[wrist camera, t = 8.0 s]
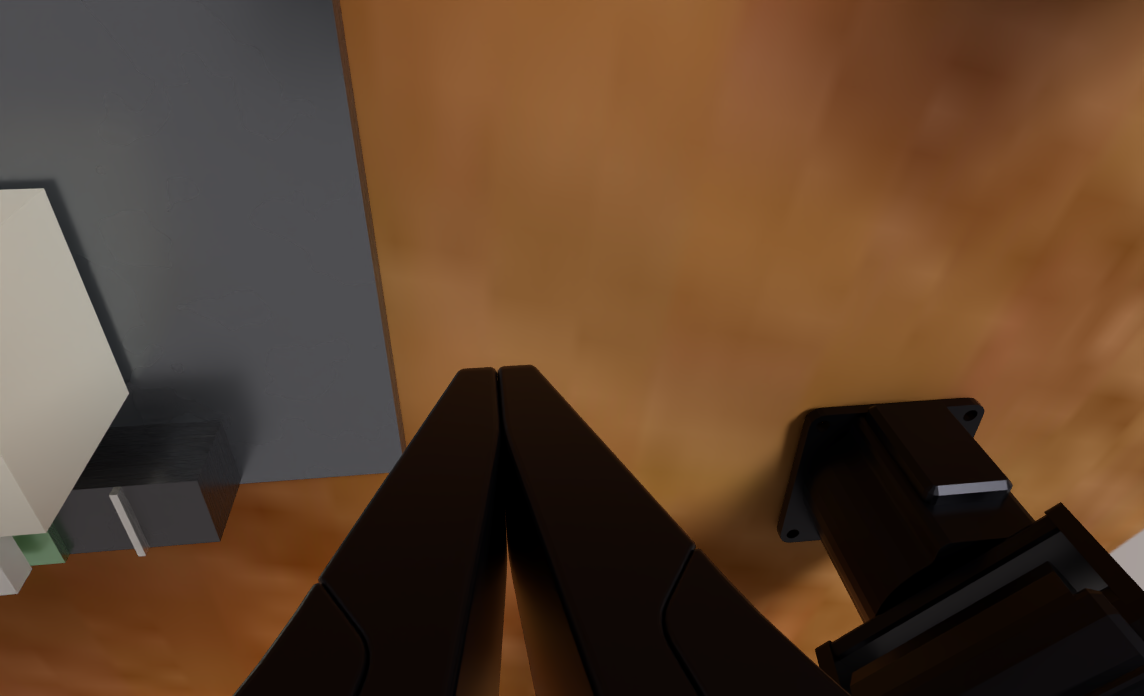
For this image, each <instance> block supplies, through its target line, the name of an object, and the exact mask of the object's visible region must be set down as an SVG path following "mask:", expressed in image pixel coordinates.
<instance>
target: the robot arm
mask: <svg viewBox="0 0 1144 696" xmlns="http://www.w3.org/2000/svg"><path fill="white" fill-rule="evenodd" d="M497 378H498V380H497ZM983 415H984V409H983V407H982V406H981V405H980V403H979V402H978V401H977V400H975V399H974V398H956V399H942V400H928V401H913V402H899V403H885V404H871V405H856V406H842V407H828V408H819V409H815V410H813V411H812V412H810V413H809V414H808V415H807V416H806V418H805V421H804V425H803V429H802V432H801V436H800V440H799V444H798V448H797V452H796V456H795V459H794V463H793V467H792V471H791V475H790V479H789V483H788V486H787V490H786V494H785V498H784V502H783V506H782V510H781V513H780V517H779V521H778V525H777V531H778V534H779V536H780V538H781V539H782V541H784V542H790V543H791V542H802V541H813V540H821V541H822V543H823V545H824V547H825V549H826V551H827V553H828V555H829V557H830V559H831V561H832V563H833V565H834V566H835V568H836V570H837V572H838V574H839V576H840V578H841V580H842V582H843V584H844V586H845V588H846V590H847V592H848V594H849V595H850V597H851V599H852V601H853V603H854V605H855V607H856V609H857V611H858V613H859V615H860V617H861V619H862V621H863V623H864V624H862V625H860V626H859V627H857V628H855V629H853V630H852V631H850V632H848V633H847V634H845V635H843V636H842V637H840V638H838V639H837V640H835V641H833V642H831V641H827V642H826V643H824V644H822V645H821V646H819V647H817V648H816V649H815V652H816V656H817V660H818V664H819V667H820V668H819V667H818V666H817V665H816V664H815V663H814V662H813V661H812V660H810V659H809V658H808V657H807V656H806V655H805V654H804V653H803V652H802V651H801V650H800V649H798V648H797V647H796V646H795V645H794V644H793V643H792V642H791V641H790V640H789V639H788V638H787V637H786V636H784V635H783V634H782V633H781V632H780V631H779V630H778V629H777V628H776V627H775V626H774V625H773V624H772V623H771V622H769V621H768V620H767V619H766V618H765V617H764V616H763V615H762V614H761V613H760V612H759V611H758V610H757V609H756V608H755V607H754V606H753V605H752V604H751V603H750V602H749V601H748V600H747V599H746V598H745V596H744V595H743V594H742V593H741V592H740V591H739V590H738V589H737V588H736V587H735V586H734V585H733V584H732V583H731V582H730V581H729V580H728V579H727V578H726V577H725V576H724V575H723V574H722V572H721V571H720V570H719V569H718V568H717V567H716V566H715V565H714V564H713V562H712V561H711V560H710V559H709V558H708V557H707V556H706V555H705V553H704V552H703V551H702V550H701V549H695V548H696V545H695V543H694V542H693V541H692V540H691V538H690V537H689V536H688V535H687V534H686V533H685V532H684V531H683V530H682V528H681V527H680V526H679V525H678V524H677V523H676V522H675V521H674V520H673V519H672V517H671V516H670V515H669V514H668V513H667V512H666V511H665V510H664V509H663V507H662V506H661V505H660V504H659V503H658V502H657V501H656V500H655V499H654V498H653V496H652V495H651V494H650V493H649V492H648V491H647V490H646V489H645V488H644V486H643V485H642V484H641V483H640V482H639V481H638V480H637V479H636V478H635V477H634V475H633V474H632V473H631V472H630V471H629V470H628V469H627V468H626V467H625V465H624V464H623V463H622V462H621V461H620V460H619V459H618V458H617V457H616V456H615V454H614V453H613V452H612V451H611V450H610V449H609V448H608V447H607V446H606V444H605V443H604V442H603V441H602V440H601V439H600V438H599V437H598V436H597V435H596V433H595V432H594V431H593V430H592V429H591V428H590V427H589V426H588V425H587V423H586V422H585V421H584V420H583V419H582V418H581V417H580V416H579V415H578V414H577V412H576V411H575V410H574V409H573V408H572V407H571V406H570V405H569V404H568V402H567V401H566V400H565V399H564V398H563V397H562V396H561V395H560V394H559V393H558V391H557V390H556V389H555V388H554V387H553V386H552V385H551V384H550V383H549V381H548V380H547V379H546V378H545V377H544V376H543V375H542V374H541V373H540V372H539V370H538V369H537V368H536V367H534V366H532V365H517V366H503V367H501V368H499V370H498V372H496V370H495V369H494V368H492V367H484V368H467V369H461V370H460V371H458V373H457V374H456V375H455V377H454V378H453V380H452V381H451V383H450V384H449V386H448V387H447V389H446V390H445V392H444V393H443V395H442V396H441V398H440V399H439V401H438V402H437V404H436V405H435V406H434V408H433V409H432V411H431V412H430V414H429V415H428V417H427V418H426V420H425V421H424V423H423V424H422V426H421V427H420V429H419V430H418V432H417V433H416V435H415V436H414V438H413V439H412V441H411V442H410V443H409V445H408V446H407V448H406V449H405V451H404V452H403V454H402V455H401V457H400V458H399V460H398V461H397V463H396V464H395V466H394V467H393V469H392V470H391V472H390V473H389V475H388V476H387V478H386V479H385V480H384V482H383V483H382V485H381V486H380V488H379V489H378V491H377V492H376V494H375V495H374V497H373V498H372V500H371V501H370V503H369V504H368V506H367V507H366V509H365V510H364V512H363V513H362V515H361V516H360V518H359V519H358V520H357V522H356V523H355V525H354V526H353V528H352V529H351V531H350V532H349V534H348V535H347V537H346V538H345V540H344V541H343V543H342V544H341V546H340V547H339V549H338V550H337V552H336V553H335V555H334V556H333V557H332V559H331V560H330V562H329V563H328V565H327V566H326V568H325V569H324V571H323V572H322V574H321V575H320V577H319V579H318V581H319V583H317V584H314V585H313V586H312V588H311V589H310V591H309V592H308V594H307V595H306V597H305V598H304V600H303V601H302V603H301V604H300V606H299V607H298V609H297V610H296V612H295V613H294V615H293V616H292V618H291V619H290V620H289V622H288V623H287V625H286V626H285V627H284V629H283V630H282V632H281V633H280V634H279V636H278V637H277V638H276V640H275V641H274V643H273V644H272V645H271V647H270V648H269V650H268V651H267V652H266V654H265V655H264V656H263V658H262V659H261V661H260V662H259V663H258V665H257V666H256V667H255V669H254V670H253V671H252V672H251V674H250V675H249V676H248V677H247V678H246V680H245V681H244V682H243V683H242V685H241V686H240V687H239V688H238V690H237V691H236V692H235V693H234V695H233V696H499V683H500V668H501V653H502V638H503V623H504V608H505V593H506V577H507V543H508V553H509V561H510V567H511V573H512V579H513V584H514V589H515V594H516V599H517V604H518V609H519V614H520V619H521V624H522V629H523V634H524V639H525V644H526V649H527V654H528V659H529V664H530V669H531V674H532V679H533V684H534V689H535V694H536V696H1144V591H1143V590H1142V589H1141V588H1140V587H1139V586H1138V585H1137V584H1136V582H1135V581H1134V580H1133V579H1132V578H1131V577H1130V576H1129V575H1128V574H1127V573H1126V572H1125V571H1124V570H1123V569H1122V567H1121V566H1120V565H1119V564H1118V563H1117V562H1116V561H1115V560H1114V559H1113V558H1112V557H1111V556H1110V554H1109V553H1108V552H1107V551H1106V550H1105V549H1104V548H1103V547H1102V546H1101V545H1100V544H1099V543H1098V542H1097V540H1096V539H1095V538H1094V537H1093V536H1092V535H1091V534H1090V533H1089V532H1088V531H1087V530H1086V529H1085V528H1084V526H1083V525H1082V524H1081V523H1080V522H1079V521H1078V520H1077V519H1076V518H1075V517H1074V516H1073V515H1072V514H1071V512H1070V511H1069V510H1068V509H1067V508H1066V507H1065V506H1064V505H1063V504H1062V503H1061V502H1060V503H1058V504H1057V505H1055V506H1053V507H1052V508H1050V509H1048V510H1047V511H1045V512H1044V513H1045V514H1046V515H1045V516H1043V517H1042V518H1040V519H1038V520H1037V521H1035V520H1034V519H1033V518H1032V517H1031V516H1030V514H1029V513H1028V512H1027V511H1026V510H1025V508H1024V507H1023V506H1022V505H1021V504H1020V503H1019V501H1018V500H1017V499H1016V498H1015V497H1014V495H1013V494H1012V493H1011V492H1010V490H1011V488H1012V486H1013V485H1012V483H1011V481H1010V480H1009V479H1008V478H1007V477H1006V476H1005V474H1004V473H1003V472H1002V471H1001V470H1000V469H999V467H998V466H997V465H996V464H995V463H994V462H993V460H992V459H991V458H990V457H989V456H988V455H987V453H986V452H985V451H984V450H983V449H982V448H981V447H980V445H979V444H978V443H977V442H976V441H975V440H974V438H973V437H974V435H975V433H976V431H977V428H978V426H979V424H980V421H981V419H982V417H983ZM822 421H823V422H822ZM820 422H822V423H821V424H818V423H820ZM505 515H506V516H505ZM506 530H507V537H506Z"/></svg>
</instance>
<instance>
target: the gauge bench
mask: <svg viewBox="0 0 1144 696" xmlns="http://www.w3.org/2000/svg"><path fill="white" fill-rule="evenodd" d="M38 188H44V190H45V192H46V195H47V197H48V199H49V202H50V204H51V207H52V209H53V212H54V214H55V216H56V219H57V221H58V224H59V226H60V228H61V231H62V233H63V236H64V238H65V240H66V243H67V245H68V248H69V250H70V252H71V255H72V257H73V260H74V262H75V264H76V267H77V269H78V272H79V274H80V277H81V279H82V281H83V284H84V286H85V289H86V291H87V293H88V296H89V298H90V301H91V303H92V305H93V308H94V310H95V313H96V315H97V317H98V320H99V322H100V325H101V327H102V329H103V332H104V334H105V337H106V339H107V342H108V344H109V346H110V349H111V351H112V354H113V356H114V358H115V361H116V363H117V366H118V368H119V370H120V373H121V375H122V378H123V380H124V382H125V385H126V387H127V390H128V392H129V395H128V396H127V398H126V400H125V401H124V403H123V405H122V406H121V408H120V410H119V411H118V413H117V415H116V416H115V418H114V420H113V421H112V423H111V425H110V426H109V428H108V430H107V432H106V433H105V435H104V437H103V438H102V440H101V442H100V443H99V445H98V447H97V448H96V450H95V452H94V453H93V455H92V457H91V458H90V460H89V462H88V463H87V465H86V467H85V469H84V470H83V472H82V474H81V475H80V477H79V479H78V480H77V482H76V484H75V485H74V487H73V489H72V490H71V492H70V494H69V495H68V497H67V499H66V500H65V502H64V504H63V506H62V507H61V509H60V511H59V512H58V514H57V516H56V517H55V519H54V521H53V522H52V524H51V526H50V527H49V529H48V531H47V532H46V533H40V534H28V535H16V536H12V537H13V538H14V540H15V542H16V543H17V545H18V547H19V548H20V550H21V551H22V553H23V555H24V556H25V558H26V559H27V561H28V563H29V564H30V566H32V565H44V564H56V563H65V562H66V561H67V559H68V557H69V555H70V554H76V553H88V552H100V551H112V550H124V549H135V550H136V553H137V555H138V556H146V555H147V552H148V550H149V548H150V547H160V546H172V545H184V544H196V543H207V542H219V541H221V538H222V535H223V532H224V529H225V526H226V523H227V520H228V517H229V514H230V511H231V508H232V505H233V502H234V499H235V496H236V493H237V491H238V488H239V485H240V484H244V483H257V482H270V481H283V480H297V479H310V478H323V477H336V476H350V475H363V474H376V473H389V472H391V470H392V469H393V467H394V466H395V464H396V463H397V461H398V460H399V458H400V457H401V455H402V454H403V452H404V451H405V449H406V443H405V436H404V429H403V423H402V416H401V409H400V403H399V396H398V389H397V382H396V376H395V369H394V362H393V356H392V349H391V342H390V336H389V329H388V322H387V316H386V309H385V302H384V296H383V289H382V282H381V275H380V269H379V262H378V255H377V249H376V242H375V235H374V229H373V222H372V215H371V209H370V202H369V195H368V189H367V182H366V175H365V168H364V162H363V155H362V148H361V142H360V135H359V128H358V122H357V115H356V108H355V102H354V95H353V88H352V82H351V75H350V68H349V62H348V55H347V48H346V41H345V35H344V28H343V21H342V15H341V8H340V1H339V0H0V190H6V189H38Z"/></svg>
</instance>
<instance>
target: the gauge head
mask: <svg viewBox="0 0 1144 696" xmlns="http://www.w3.org/2000/svg"><path fill="white" fill-rule="evenodd" d="M128 395H129V392H128V390H127V387H126V385H125V382H124V380H123V378H122V375H121V373H120V370H119V368H118V366H117V363H116V361H115V358H114V356H113V354H112V351H111V349H110V346H109V344H108V342H107V339H106V337H105V334H104V332H103V329H102V327H101V325H100V322H99V320H98V317H97V315H96V313H95V310H94V308H93V305H92V303H91V301H90V298H89V296H88V293H87V291H86V289H85V286H84V284H83V281H82V279H81V277H80V274H79V272H78V269H77V267H76V264H75V262H74V260H73V257H72V255H71V252H70V250H69V248H68V245H67V243H66V240H65V238H64V236H63V233H62V231H61V228H60V226H59V224H58V221H57V219H56V216H55V214H54V212H53V209H52V207H51V204H50V202H49V199H48V197H47V195H46V192H45V190H44V188H38V189H6V190H0V595H11V594H18V593H19V591H20V589H21V587H22V586H23V584H24V582H25V581H26V579H27V577H28V576H29V574H30V572H31V570H32V568H31V566H30V564H29V563H28V561H27V559H26V558H25V556H24V555H23V553H22V551H21V550H20V548H19V547H18V545H17V543H16V542H15V540H14V538H13V537H12V536H16V535H28V534H40V533H46V532H47V531H48V529H49V527H50V526H51V524H52V522H53V521H54V519H55V517H56V516H57V514H58V512H59V511H60V509H61V507H62V506H63V504H64V502H65V500H66V499H67V497H68V495H69V494H70V492H71V490H72V489H73V487H74V485H75V484H76V482H77V480H78V479H79V477H80V475H81V474H82V472H83V470H84V469H85V467H86V465H87V463H88V462H89V460H90V458H91V457H92V455H93V453H94V452H95V450H96V448H97V447H98V445H99V443H100V442H101V440H102V438H103V437H104V435H105V433H106V432H107V430H108V428H109V426H110V425H111V423H112V421H113V420H114V418H115V416H116V415H117V413H118V411H119V410H120V408H121V406H122V405H123V403H124V401H125V400H126V398H127V396H128Z"/></svg>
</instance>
